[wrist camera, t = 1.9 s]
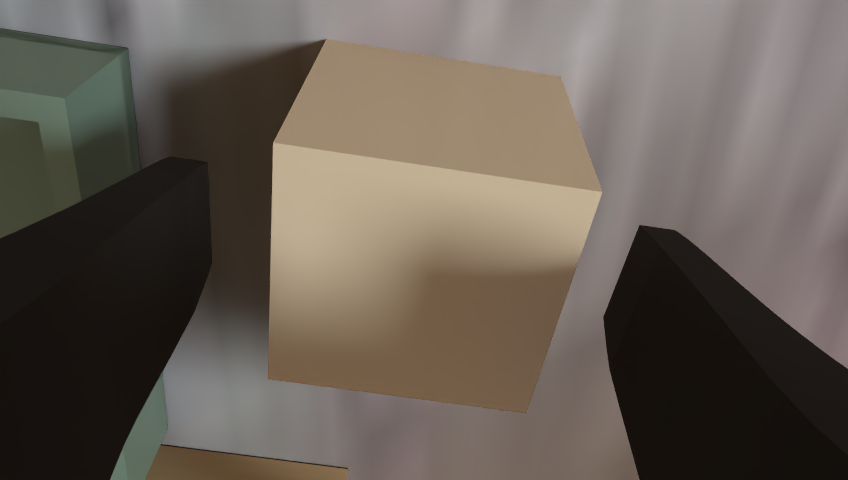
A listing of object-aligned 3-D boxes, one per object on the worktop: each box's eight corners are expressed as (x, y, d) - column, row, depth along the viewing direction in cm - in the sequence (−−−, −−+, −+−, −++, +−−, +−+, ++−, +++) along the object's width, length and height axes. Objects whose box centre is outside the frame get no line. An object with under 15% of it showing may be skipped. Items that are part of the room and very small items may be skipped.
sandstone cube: (559, 75, 13) (601, 192, 9) (509, 261, 15) (526, 413, 12) (327, 37, 13) (273, 142, 9) (314, 233, 15) (267, 379, 11)
